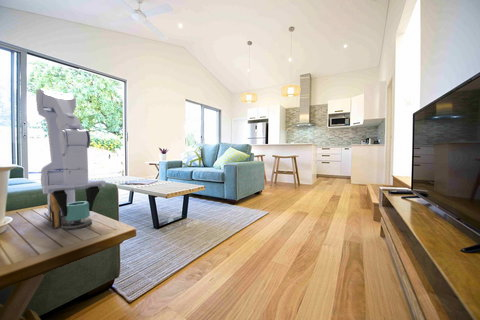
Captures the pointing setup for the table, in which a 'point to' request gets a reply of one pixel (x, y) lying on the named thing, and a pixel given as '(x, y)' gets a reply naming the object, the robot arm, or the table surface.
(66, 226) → the dark round peg base
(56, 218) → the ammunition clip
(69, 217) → the collar
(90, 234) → the table surface
